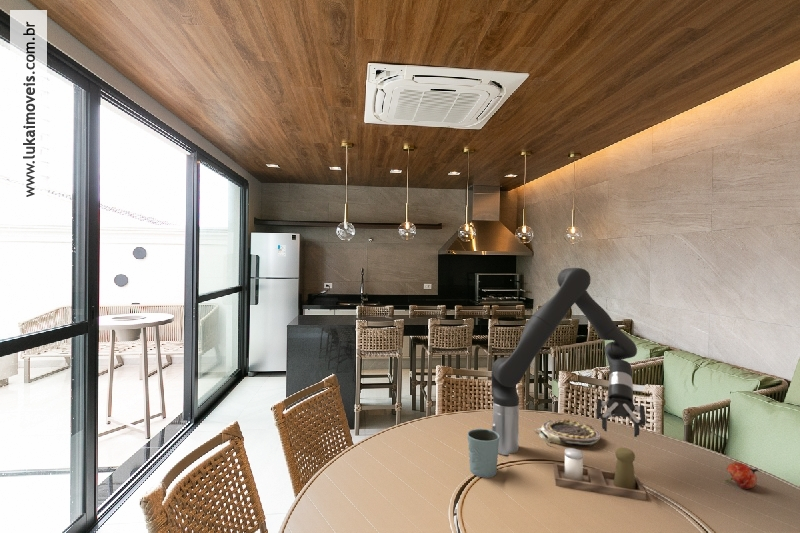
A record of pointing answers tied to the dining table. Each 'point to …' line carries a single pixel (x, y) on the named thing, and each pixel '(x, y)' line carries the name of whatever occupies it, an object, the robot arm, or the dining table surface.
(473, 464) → the teal cup
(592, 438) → the pie
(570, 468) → the salt shaker
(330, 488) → the dining table surface
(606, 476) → the cruet caddy
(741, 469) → the pomegranate
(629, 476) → the olive mushroom knob
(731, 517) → the dining table surface
